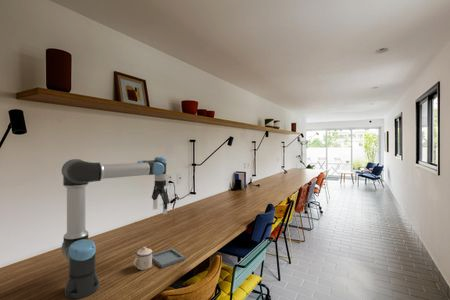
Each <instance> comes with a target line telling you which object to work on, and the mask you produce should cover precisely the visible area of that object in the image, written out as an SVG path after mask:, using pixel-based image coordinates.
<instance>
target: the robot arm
mask: <svg viewBox="0 0 450 300" xmlns="http://www.w3.org/2000/svg"><path fill="white" fill-rule="evenodd" d="M61 175H62V177H63V180H62V185H63V186H64V188H66V232H65V234H63V242H62V243H61V244H62V245H61V250H62V254H63V256H65V258H66V260H67V262H68V278H67V281H66V284H65V288H64V296H65V297H66V298H68V299H71V300H72V299H74V300H75V299H82V298H86V297H88V296H90V295H92V294H94V293H95V292H97V291H98V289H99V288H100V278H99V276H98V275H97V272H96V266H97V265H96V261H97V260H96V259H97V258H96V257H97V256H96V252H97V247H96V243H95V242H94V241H93V240H91V239H89V231H88V230H86V187H87V186H88V185H89V183H93V182H101V181H102V180H103V179H106V180H107V179H114V178H116V179H117V178H118V179H119V178H126V177H127V178H129V177H138V176H139V177H141V176H154V186H153V191H152V194H151V199H152V200H153V202H152V203H153V205H152V210H154V211H155V210H158V197H159V195H160V197H161V201H162V214H163V215H165V214H167V215H168V204H170V199H169V195H168V188H165V187H166V186H167V157H165V156H155V157H154V159H152V160H138V161H137V162H129V163H127V162H124V163H108V164H107V163H104V164H102V163H101V162H90V161H85V160H82V159H79V158H74V159H69V160H67V161H66V162H65V163H63V165H62V167H61Z"/></svg>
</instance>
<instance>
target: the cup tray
mask: <svg viewBox="0 0 450 300" xmlns="http://www.w3.org/2000/svg"><path fill="white" fill-rule="evenodd" d="M185 260H186V256H185V255H183V254H182V253H180V252H179V251H177V250H176V249H174V248H169V249H166V250H162V251H158V252H156V253H152V262H153V263H155V264H156V265H157V266H158V267H160V269H164V268H167V267H169V266H171V265H174V264H177V263H180V262H183V261H185Z"/></svg>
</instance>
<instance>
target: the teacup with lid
mask: <svg viewBox="0 0 450 300" xmlns="http://www.w3.org/2000/svg"><path fill="white" fill-rule="evenodd" d="M152 254H153V250H152V249H151V248H147V246H143V247H142V248H140V249H139V250H138V251H136V257H135V259H134V260H133V265H134V267H136V268H137V269H138V270H140V271H145V270H149V269H150V268H152V266H153V261H152Z"/></svg>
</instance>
